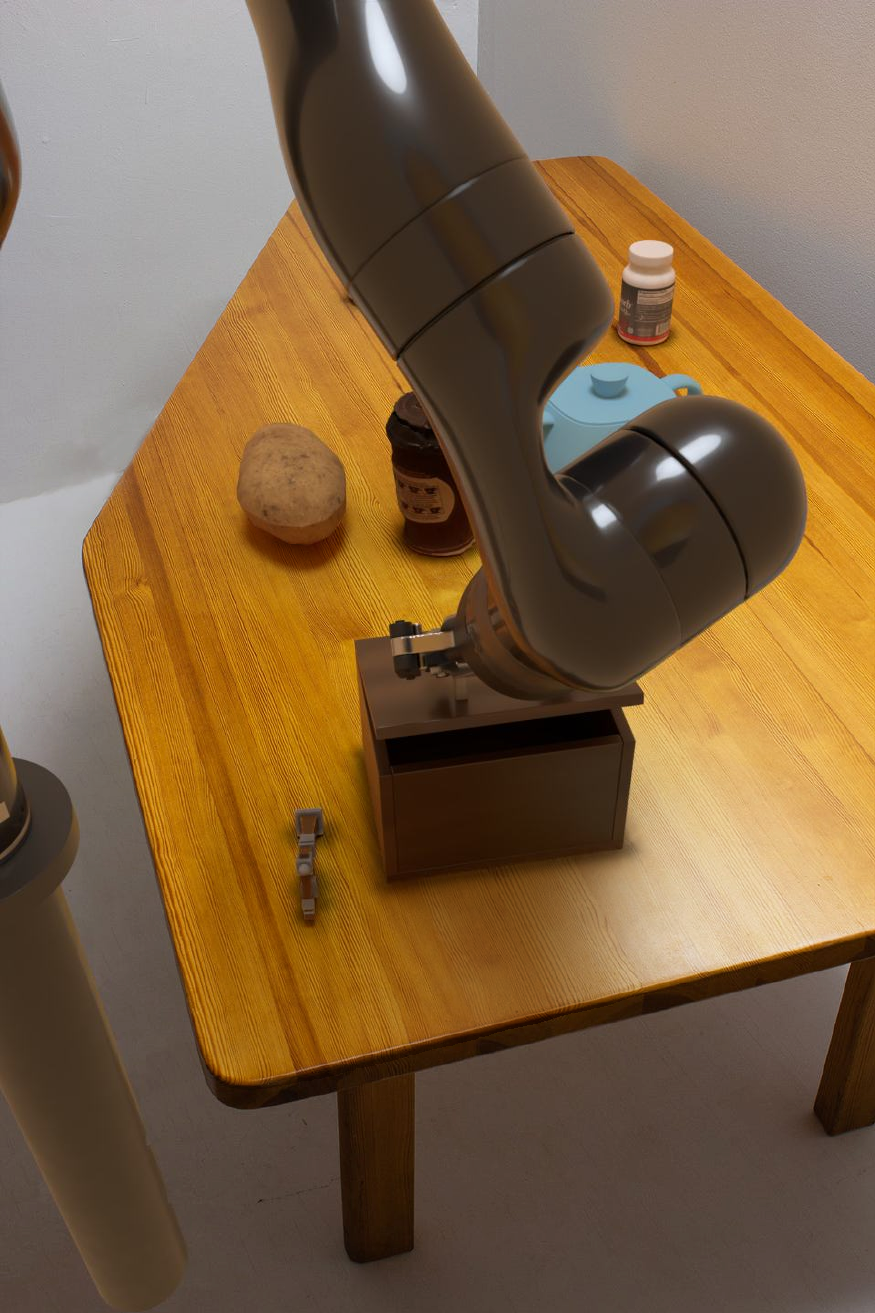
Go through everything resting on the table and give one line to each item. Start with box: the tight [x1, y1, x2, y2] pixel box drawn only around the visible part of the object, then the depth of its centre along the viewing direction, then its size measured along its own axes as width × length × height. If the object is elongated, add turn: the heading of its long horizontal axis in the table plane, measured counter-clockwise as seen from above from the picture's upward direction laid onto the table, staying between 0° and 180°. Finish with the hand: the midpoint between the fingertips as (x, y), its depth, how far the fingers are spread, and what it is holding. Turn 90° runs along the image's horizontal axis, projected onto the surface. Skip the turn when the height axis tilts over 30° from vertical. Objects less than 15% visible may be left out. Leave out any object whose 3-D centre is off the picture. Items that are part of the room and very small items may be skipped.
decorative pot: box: [543, 361, 704, 474], centre depth 105 cm, size 16×16×14 cm
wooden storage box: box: [354, 651, 637, 883], centre depth 79 cm, size 12×16×10 cm
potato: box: [236, 422, 347, 545], centre depth 105 cm, size 10×14×8 cm
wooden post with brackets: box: [294, 807, 325, 921], centre depth 77 cm, size 2×8×4 cm, turn 5°
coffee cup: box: [384, 390, 476, 557], centre depth 102 cm, size 9×8×13 cm
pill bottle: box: [617, 239, 676, 346], centre depth 132 cm, size 6×6×10 cm
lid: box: [353, 630, 645, 740], centre depth 74 cm, size 12×16×5 cm
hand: (493, 653), depth 72 cm, fingers closed on lid, 6 cm apart
